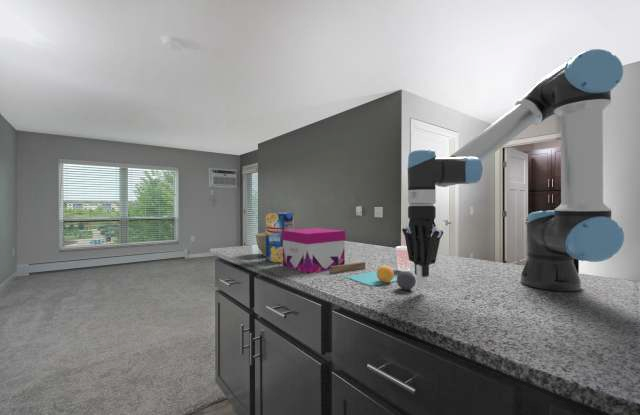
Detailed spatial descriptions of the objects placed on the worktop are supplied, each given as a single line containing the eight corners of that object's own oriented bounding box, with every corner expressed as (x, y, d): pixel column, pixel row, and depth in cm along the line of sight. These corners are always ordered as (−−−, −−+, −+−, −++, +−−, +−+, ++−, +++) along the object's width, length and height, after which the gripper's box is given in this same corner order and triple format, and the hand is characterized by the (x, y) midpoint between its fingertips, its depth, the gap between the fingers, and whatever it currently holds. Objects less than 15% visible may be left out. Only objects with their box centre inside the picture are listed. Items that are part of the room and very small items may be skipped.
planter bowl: (250, 257, 149) (250, 235, 149) (262, 252, 165) (262, 232, 165) (282, 258, 146) (282, 235, 146) (291, 253, 162) (291, 232, 162)
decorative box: (282, 265, 129) (281, 230, 129) (318, 260, 140) (318, 228, 140) (307, 274, 114) (306, 233, 114) (345, 267, 125) (345, 230, 125)
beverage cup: (405, 272, 115) (405, 235, 114) (392, 269, 119) (392, 234, 119) (415, 270, 118) (415, 234, 118) (402, 267, 123) (401, 233, 123)
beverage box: (284, 263, 134) (284, 213, 133) (265, 261, 140) (265, 213, 139) (294, 261, 139) (293, 212, 139) (275, 258, 145) (275, 212, 145)
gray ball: (407, 266, 95) (402, 281, 97) (395, 269, 92) (390, 284, 94) (421, 276, 91) (416, 291, 93) (409, 279, 88) (404, 295, 89)
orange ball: (397, 266, 100) (386, 263, 104) (384, 268, 97) (373, 264, 101) (396, 283, 100) (385, 278, 105) (384, 285, 97) (372, 280, 102)
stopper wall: (365, 268, 122) (365, 262, 122) (331, 273, 114) (331, 267, 114) (363, 268, 123) (363, 262, 123) (330, 273, 115) (329, 266, 115)
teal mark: (402, 280, 103) (402, 279, 103) (370, 286, 96) (370, 285, 96) (375, 272, 115) (375, 271, 115) (344, 277, 108) (344, 276, 108)
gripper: (395, 205, 91) (395, 284, 91) (431, 205, 80) (431, 295, 80) (413, 205, 95) (413, 280, 95) (449, 205, 84) (450, 290, 84)
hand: (421, 287), depth 88 cm, fingers closed
